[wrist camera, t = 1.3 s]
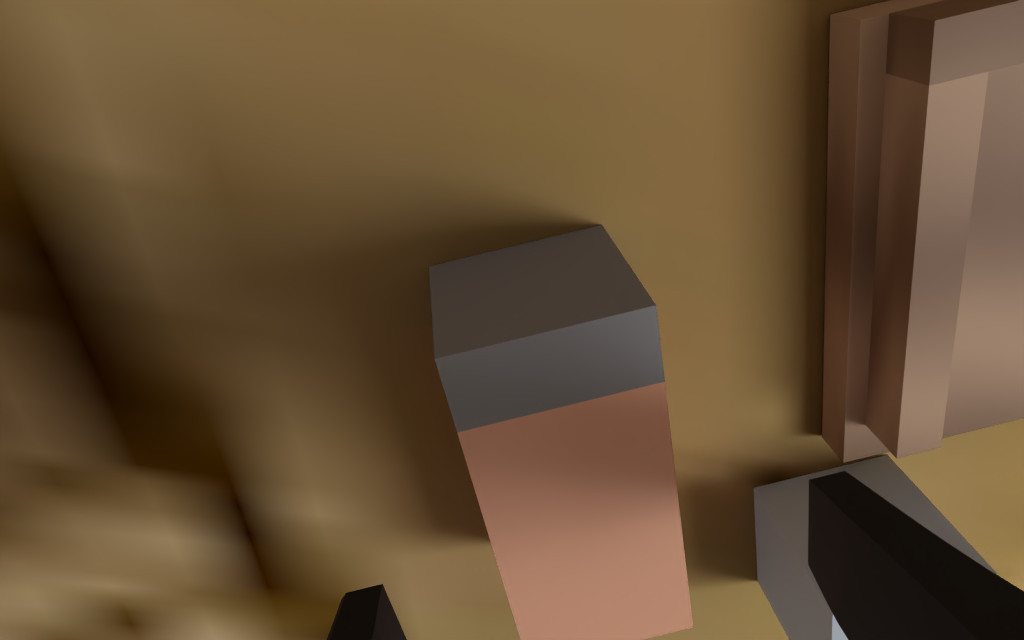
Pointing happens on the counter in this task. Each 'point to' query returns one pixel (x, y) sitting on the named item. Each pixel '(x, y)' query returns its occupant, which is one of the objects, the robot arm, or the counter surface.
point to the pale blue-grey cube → (787, 542)
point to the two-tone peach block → (566, 434)
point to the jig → (923, 224)
